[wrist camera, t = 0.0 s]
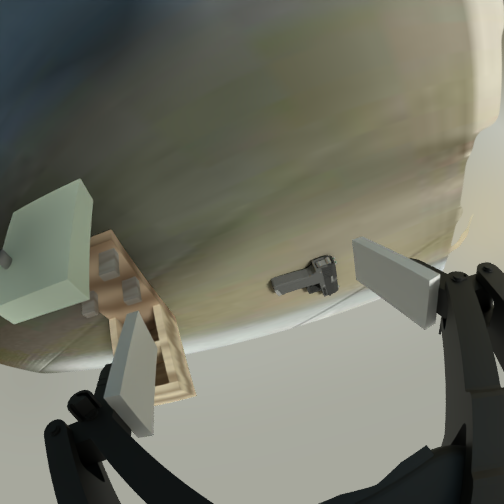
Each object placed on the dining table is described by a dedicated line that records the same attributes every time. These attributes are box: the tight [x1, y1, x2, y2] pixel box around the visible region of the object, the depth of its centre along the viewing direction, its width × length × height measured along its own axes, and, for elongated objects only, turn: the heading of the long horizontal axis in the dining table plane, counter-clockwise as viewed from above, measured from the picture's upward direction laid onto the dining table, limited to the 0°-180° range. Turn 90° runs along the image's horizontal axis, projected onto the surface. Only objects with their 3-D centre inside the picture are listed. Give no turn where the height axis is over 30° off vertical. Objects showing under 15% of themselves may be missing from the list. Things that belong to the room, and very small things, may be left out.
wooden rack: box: [82, 230, 197, 406], centre depth 33 cm, size 25×9×15 cm, turn 4°
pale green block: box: [0, 179, 93, 324], centre depth 19 cm, size 4×9×11 cm, turn 94°
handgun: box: [271, 256, 339, 296], centre depth 55 cm, size 3×18×12 cm
